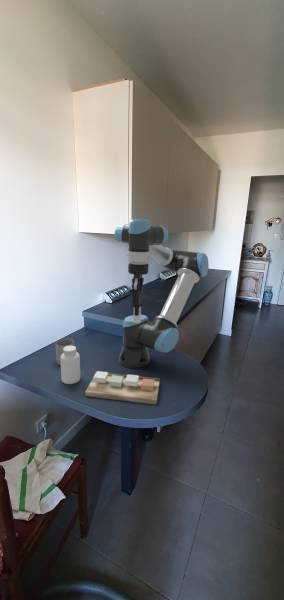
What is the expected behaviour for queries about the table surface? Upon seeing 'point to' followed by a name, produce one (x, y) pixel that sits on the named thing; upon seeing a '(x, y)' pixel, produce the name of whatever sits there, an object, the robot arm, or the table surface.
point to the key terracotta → (147, 384)
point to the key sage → (116, 381)
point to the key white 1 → (100, 377)
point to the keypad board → (124, 390)
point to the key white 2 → (132, 380)
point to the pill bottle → (70, 365)
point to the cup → (59, 348)
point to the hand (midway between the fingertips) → (136, 322)
